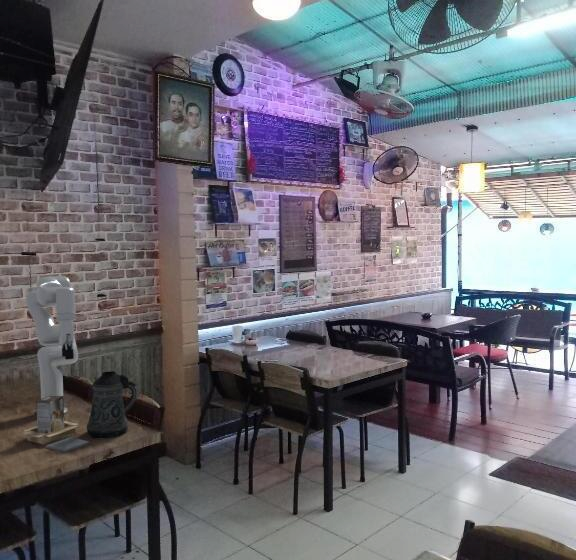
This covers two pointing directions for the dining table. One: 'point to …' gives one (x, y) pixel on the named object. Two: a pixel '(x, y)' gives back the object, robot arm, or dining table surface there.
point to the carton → (50, 434)
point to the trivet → (67, 444)
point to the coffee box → (50, 414)
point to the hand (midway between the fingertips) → (67, 357)
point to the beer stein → (110, 406)
